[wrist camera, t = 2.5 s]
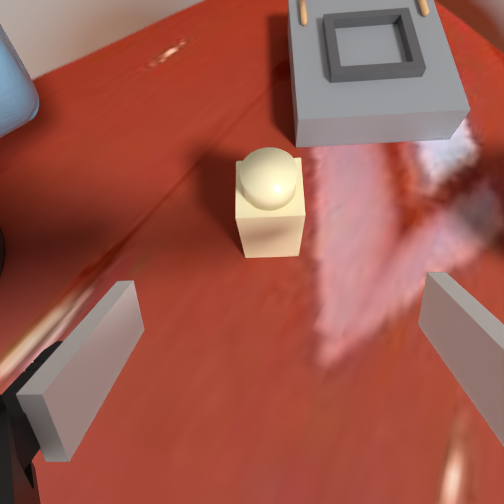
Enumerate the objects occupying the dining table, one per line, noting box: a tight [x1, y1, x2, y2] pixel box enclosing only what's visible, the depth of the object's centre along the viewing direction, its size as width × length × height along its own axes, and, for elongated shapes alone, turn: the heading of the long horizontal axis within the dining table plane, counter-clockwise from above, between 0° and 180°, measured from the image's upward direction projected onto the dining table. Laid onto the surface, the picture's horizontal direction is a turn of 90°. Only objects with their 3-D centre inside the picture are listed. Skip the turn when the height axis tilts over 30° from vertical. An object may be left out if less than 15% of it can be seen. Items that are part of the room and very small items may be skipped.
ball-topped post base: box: [288, 0, 470, 147], centre depth 36 cm, size 16×18×5 cm
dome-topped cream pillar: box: [236, 147, 305, 258], centre depth 27 cm, size 5×5×10 cm
